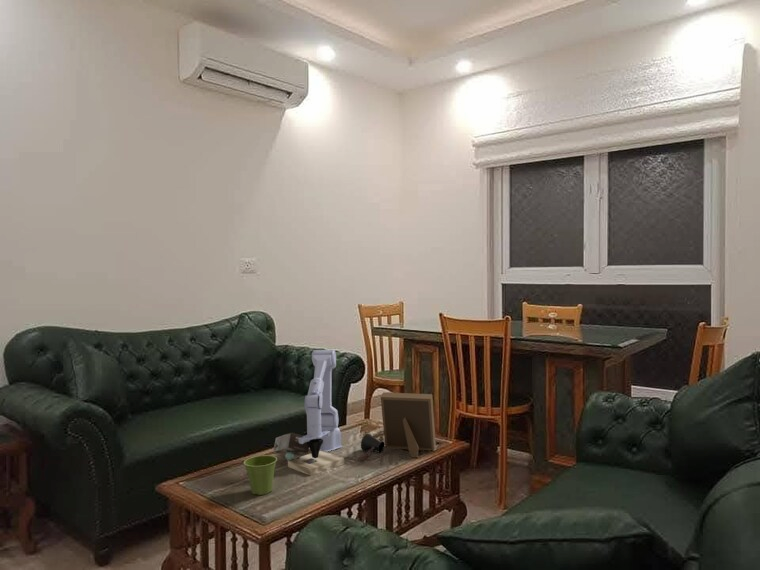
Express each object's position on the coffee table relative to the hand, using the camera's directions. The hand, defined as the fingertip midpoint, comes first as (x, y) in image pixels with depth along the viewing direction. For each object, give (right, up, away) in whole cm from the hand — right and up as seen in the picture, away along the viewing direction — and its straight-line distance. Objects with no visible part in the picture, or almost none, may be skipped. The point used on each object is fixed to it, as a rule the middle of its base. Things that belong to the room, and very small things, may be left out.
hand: (315, 457), depth 225 cm
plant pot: (-16, -5, -25) cm, 31 cm away
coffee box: (-15, +1, +12) cm, 19 cm away
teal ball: (-10, 0, 0) cm, 10 cm away
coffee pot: (+20, -3, +13) cm, 24 cm away
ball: (-2, -2, -1) cm, 3 cm away
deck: (0, -3, 0) cm, 3 cm away
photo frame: (+38, -2, +15) cm, 41 cm away
